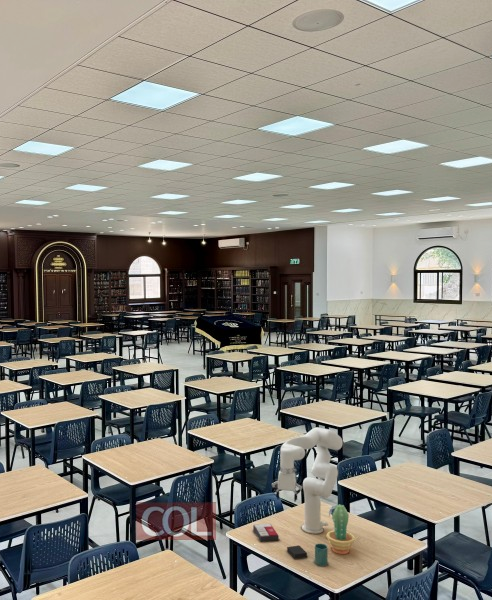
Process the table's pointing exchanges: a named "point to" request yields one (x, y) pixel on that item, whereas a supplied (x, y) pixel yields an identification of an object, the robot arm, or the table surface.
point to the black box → (297, 552)
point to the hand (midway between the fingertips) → (286, 499)
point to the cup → (321, 554)
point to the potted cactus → (340, 530)
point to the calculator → (265, 532)
